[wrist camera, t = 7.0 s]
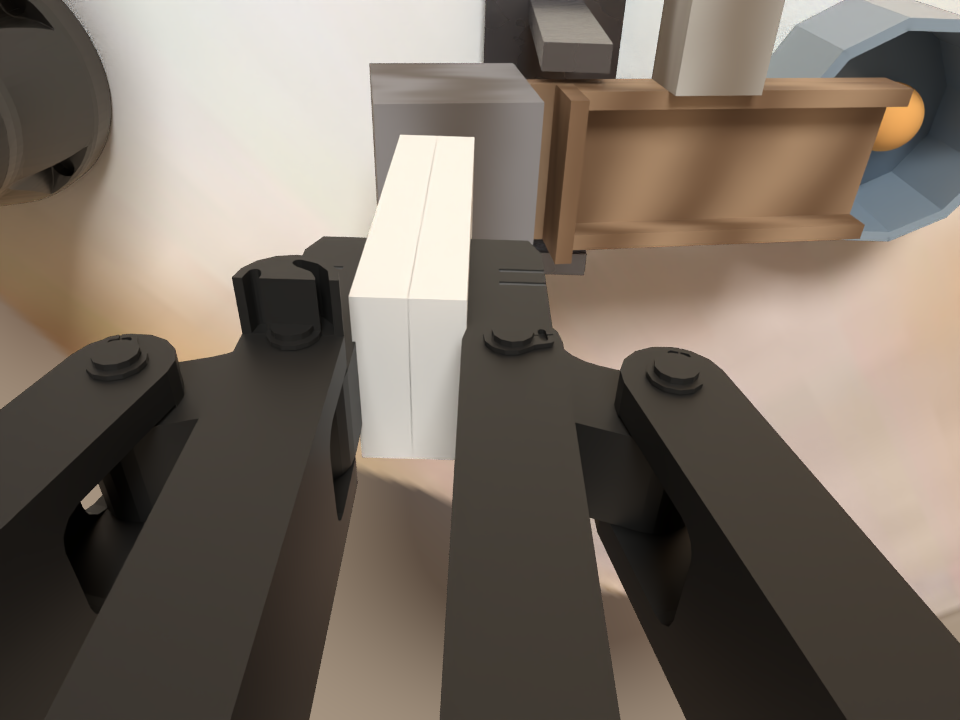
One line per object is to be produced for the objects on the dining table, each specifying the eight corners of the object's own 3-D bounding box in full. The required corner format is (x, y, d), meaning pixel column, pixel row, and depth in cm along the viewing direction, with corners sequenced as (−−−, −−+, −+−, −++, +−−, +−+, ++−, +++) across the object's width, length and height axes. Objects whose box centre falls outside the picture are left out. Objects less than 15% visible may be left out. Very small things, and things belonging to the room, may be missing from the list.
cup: (728, 193, 49) (760, 237, 43) (775, -7, 42) (821, 14, 36) (906, 199, 49) (962, 243, 43) (983, 0, 42) (1062, 22, 36)
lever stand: (479, 190, 49) (477, 287, 38) (486, -25, 41) (486, 16, 30) (596, 194, 49) (629, 291, 38) (624, -20, 42) (675, 23, 30)
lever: (377, 212, 39) (382, 273, 33) (360, -95, 31) (363, -84, 25) (806, 199, 42) (878, 252, 36) (892, -80, 34) (1000, -68, 28)
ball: (891, 165, 42) (921, 152, 44) (917, 95, 40) (947, 85, 42) (827, 146, 45) (858, 135, 47) (848, 79, 42) (879, 71, 44)
